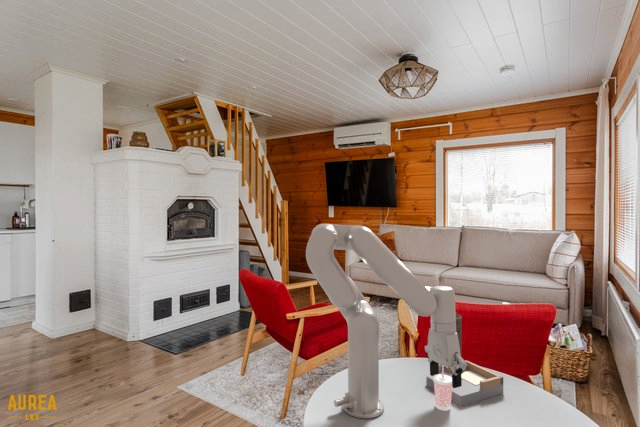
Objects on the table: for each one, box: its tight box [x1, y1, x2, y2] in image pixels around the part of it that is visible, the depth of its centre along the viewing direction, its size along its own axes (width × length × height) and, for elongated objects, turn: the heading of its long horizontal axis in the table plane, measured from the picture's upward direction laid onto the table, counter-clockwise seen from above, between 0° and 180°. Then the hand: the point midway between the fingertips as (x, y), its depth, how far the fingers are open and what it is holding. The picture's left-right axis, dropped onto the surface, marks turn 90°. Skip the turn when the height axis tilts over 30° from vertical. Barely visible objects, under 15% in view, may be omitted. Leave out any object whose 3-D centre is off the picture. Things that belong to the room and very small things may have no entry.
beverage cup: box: [433, 365, 452, 411], centre depth 118 cm, size 6×6×14 cm
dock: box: [426, 359, 504, 406], centre depth 130 cm, size 19×16×6 cm
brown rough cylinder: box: [455, 312, 463, 357], centre depth 152 cm, size 8×7×20 cm
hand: (445, 380), depth 119 cm, fingers open, 9 cm apart
